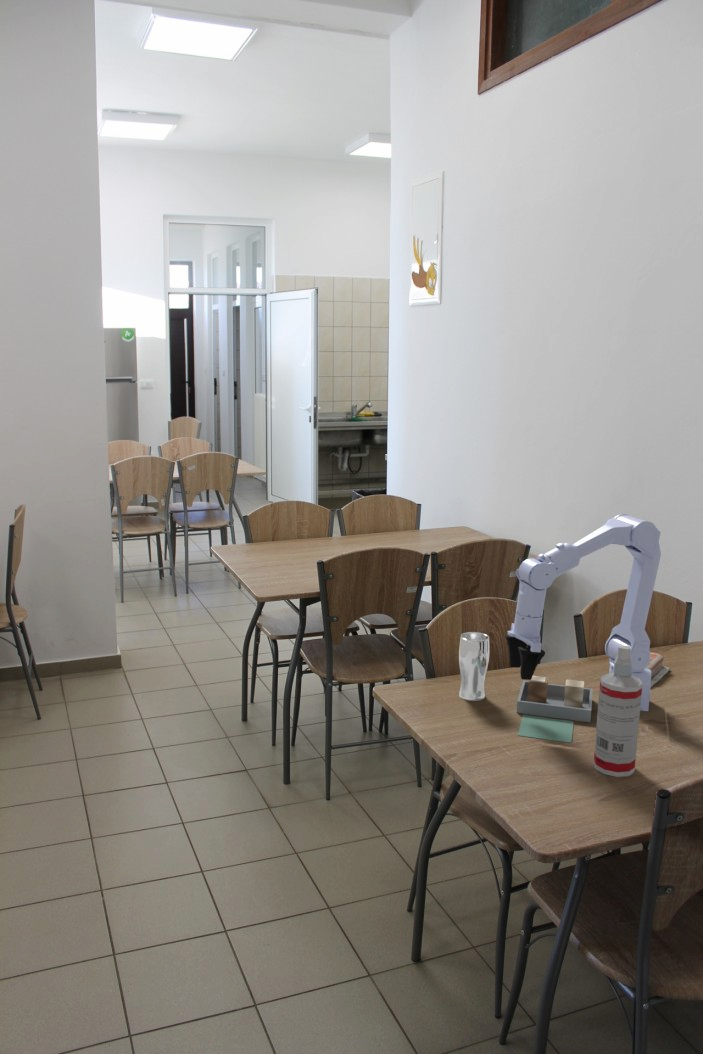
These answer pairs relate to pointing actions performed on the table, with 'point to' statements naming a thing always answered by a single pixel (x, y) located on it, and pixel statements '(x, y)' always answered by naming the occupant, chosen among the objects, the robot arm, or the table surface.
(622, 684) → the spray bottle
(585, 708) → the tray
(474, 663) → the beer glass
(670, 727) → the table surface
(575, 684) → the birch block
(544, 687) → the walnut block
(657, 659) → the packaged product
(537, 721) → the mat
